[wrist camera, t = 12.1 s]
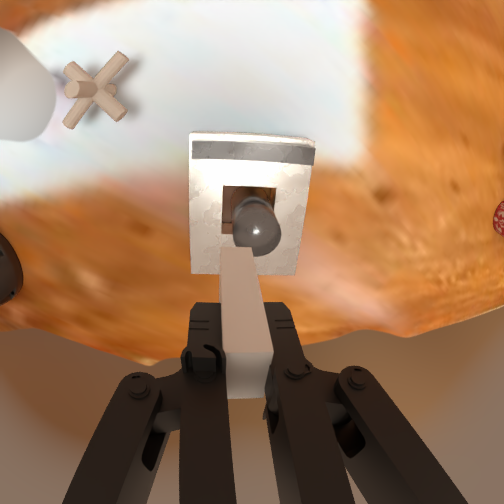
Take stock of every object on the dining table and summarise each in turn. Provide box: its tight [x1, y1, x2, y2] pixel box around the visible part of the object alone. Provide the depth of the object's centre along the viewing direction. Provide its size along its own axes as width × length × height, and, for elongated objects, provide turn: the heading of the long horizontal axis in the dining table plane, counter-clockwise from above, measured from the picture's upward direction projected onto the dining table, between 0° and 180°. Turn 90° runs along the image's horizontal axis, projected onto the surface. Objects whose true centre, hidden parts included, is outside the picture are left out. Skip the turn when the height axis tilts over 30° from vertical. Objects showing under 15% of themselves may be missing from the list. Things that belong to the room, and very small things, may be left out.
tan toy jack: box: [63, 51, 129, 129], centre depth 23 cm, size 10×10×10 cm
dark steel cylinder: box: [231, 186, 281, 257], centre depth 32 cm, size 5×5×10 cm
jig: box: [189, 131, 315, 275], centre depth 34 cm, size 14×18×6 cm
